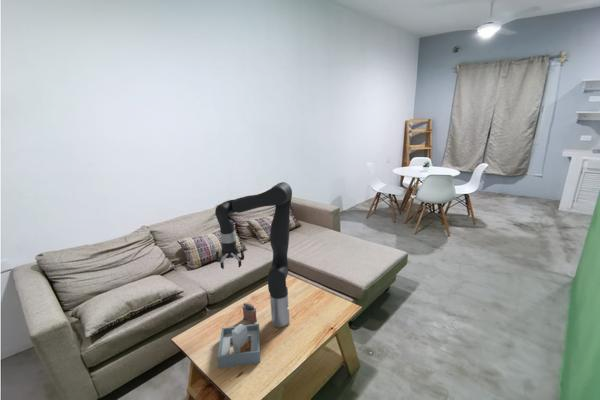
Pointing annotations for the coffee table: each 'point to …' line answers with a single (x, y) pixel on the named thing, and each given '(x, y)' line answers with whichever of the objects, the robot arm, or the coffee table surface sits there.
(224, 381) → the coffee table surface
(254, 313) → the lighter
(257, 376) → the coffee table surface
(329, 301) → the coffee table surface
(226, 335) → the bore box
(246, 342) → the skincare box
